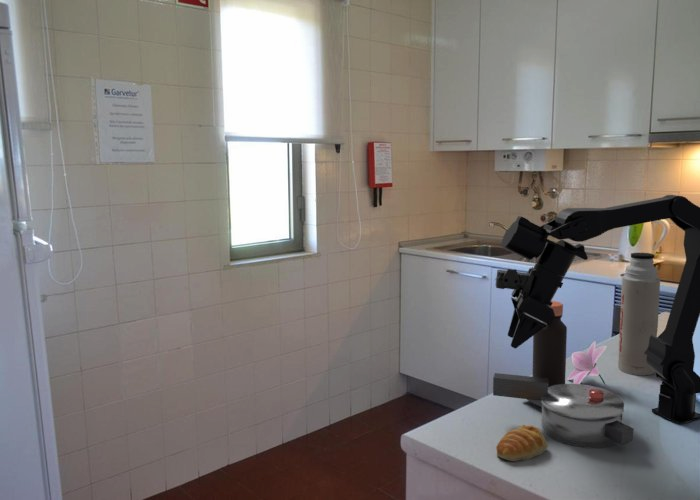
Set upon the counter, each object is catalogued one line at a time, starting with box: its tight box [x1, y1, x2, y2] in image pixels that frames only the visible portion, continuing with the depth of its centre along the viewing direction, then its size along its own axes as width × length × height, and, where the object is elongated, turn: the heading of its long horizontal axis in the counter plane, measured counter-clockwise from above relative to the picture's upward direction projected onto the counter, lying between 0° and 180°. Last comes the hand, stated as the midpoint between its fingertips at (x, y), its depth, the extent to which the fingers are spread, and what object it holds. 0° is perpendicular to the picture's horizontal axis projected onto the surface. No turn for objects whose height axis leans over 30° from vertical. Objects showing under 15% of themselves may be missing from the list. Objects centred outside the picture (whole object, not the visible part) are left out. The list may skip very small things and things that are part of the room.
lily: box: [566, 340, 608, 385], centre depth 132 cm, size 12×12×10 cm
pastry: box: [496, 424, 549, 462], centre depth 103 cm, size 9×7×4 cm
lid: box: [492, 372, 625, 421], centre depth 111 cm, size 14×23×4 cm, turn 69°
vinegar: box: [531, 300, 568, 387], centre depth 127 cm, size 7×7×20 cm
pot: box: [526, 399, 635, 449], centre depth 113 cm, size 14×26×5 cm, turn 24°
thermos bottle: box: [617, 252, 661, 376], centre depth 138 cm, size 8×8×28 cm
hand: (511, 341), depth 114 cm, fingers open, 9 cm apart
